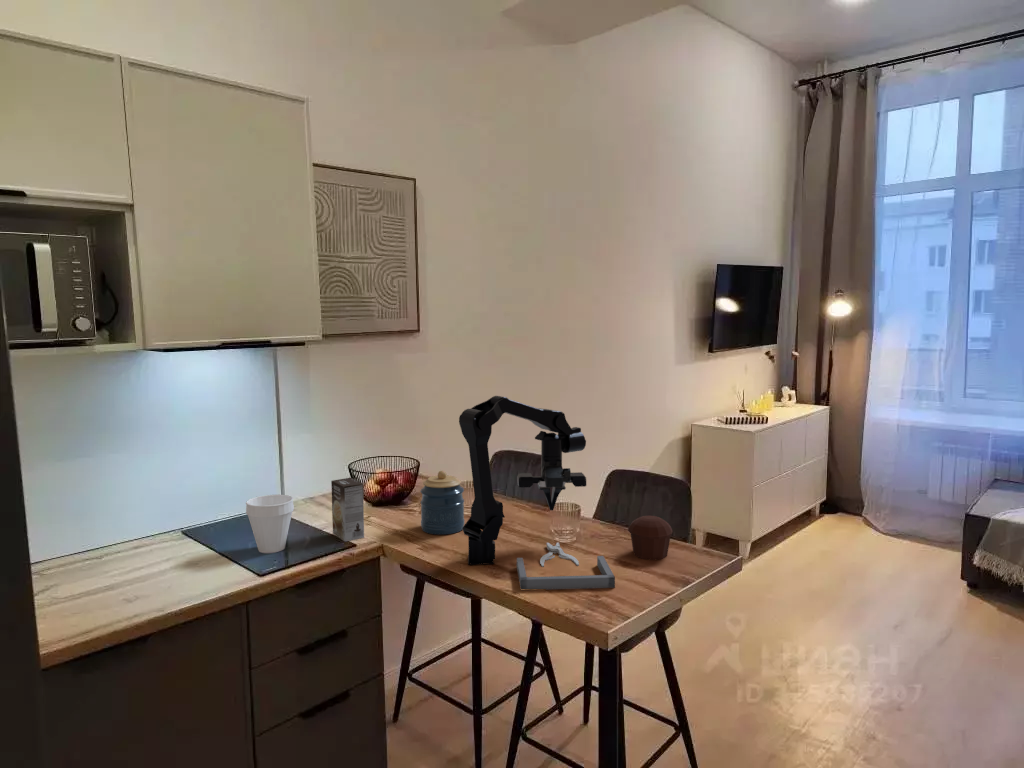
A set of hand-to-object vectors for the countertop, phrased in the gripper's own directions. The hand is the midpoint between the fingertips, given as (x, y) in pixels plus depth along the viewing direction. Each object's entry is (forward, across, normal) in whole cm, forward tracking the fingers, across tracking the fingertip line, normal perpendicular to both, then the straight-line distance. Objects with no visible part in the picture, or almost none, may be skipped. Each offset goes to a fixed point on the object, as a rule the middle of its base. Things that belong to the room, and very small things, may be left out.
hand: (551, 510), depth 191 cm
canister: (+10, -31, +15) cm, 36 cm away
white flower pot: (+10, -77, 0) cm, 78 cm away
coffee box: (+10, -58, +10) cm, 60 cm away
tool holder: (+9, 0, -25) cm, 27 cm away
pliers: (+10, 0, -11) cm, 15 cm away
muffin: (+10, +25, -11) cm, 29 cm away
